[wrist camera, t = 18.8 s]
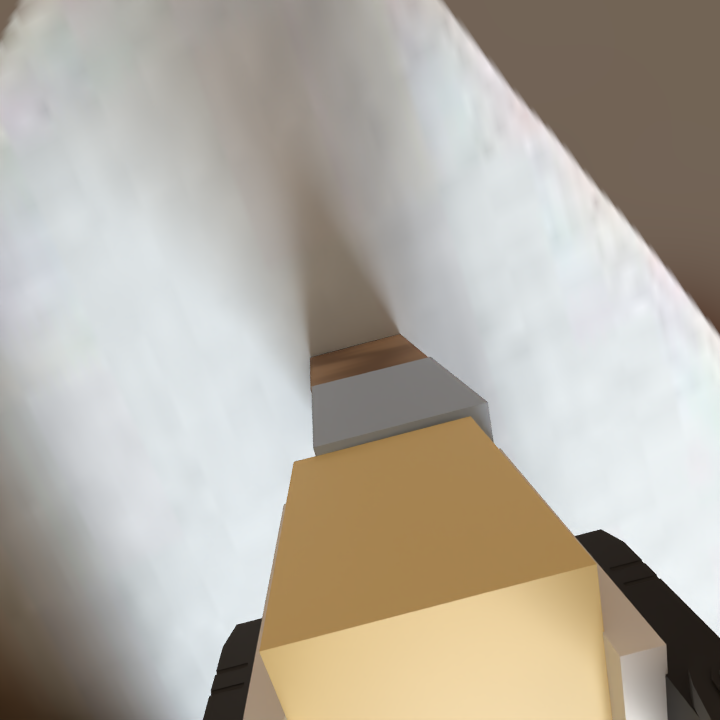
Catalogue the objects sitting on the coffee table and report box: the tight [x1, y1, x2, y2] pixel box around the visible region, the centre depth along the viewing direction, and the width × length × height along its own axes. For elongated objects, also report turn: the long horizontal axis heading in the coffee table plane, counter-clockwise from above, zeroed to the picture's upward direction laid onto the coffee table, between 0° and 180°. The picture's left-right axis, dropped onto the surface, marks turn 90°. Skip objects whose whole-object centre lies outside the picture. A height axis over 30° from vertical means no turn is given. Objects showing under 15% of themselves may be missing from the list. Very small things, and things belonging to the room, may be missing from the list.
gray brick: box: [312, 357, 494, 456], centre depth 16 cm, size 6×6×6 cm
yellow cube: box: [259, 416, 613, 720], centre depth 10 cm, size 6×6×6 cm
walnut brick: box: [310, 334, 428, 393], centre depth 22 cm, size 6×6×6 cm
